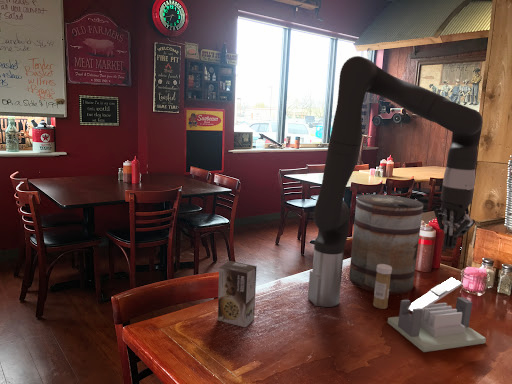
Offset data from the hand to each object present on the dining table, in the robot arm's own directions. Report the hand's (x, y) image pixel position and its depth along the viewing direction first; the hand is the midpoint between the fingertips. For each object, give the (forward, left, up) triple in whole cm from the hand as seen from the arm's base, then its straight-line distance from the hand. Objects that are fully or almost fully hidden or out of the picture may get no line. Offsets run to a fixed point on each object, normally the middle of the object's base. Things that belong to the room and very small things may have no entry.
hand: (449, 247), depth 117 cm
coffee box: (-54, +19, -25) cm, 63 cm away
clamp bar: (-3, 0, -14) cm, 14 cm away
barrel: (+5, +36, -25) cm, 44 cm away
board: (-1, 0, -25) cm, 25 cm away
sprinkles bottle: (-7, +18, -25) cm, 32 cm away
